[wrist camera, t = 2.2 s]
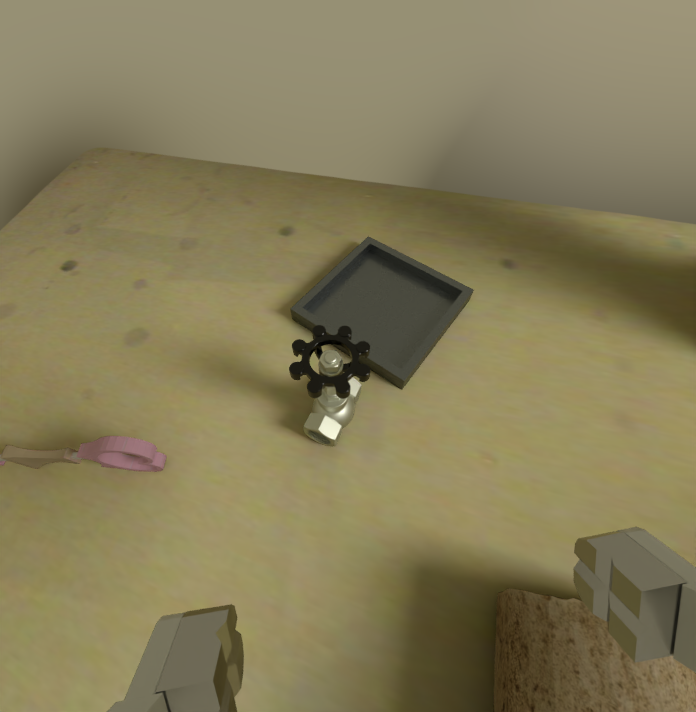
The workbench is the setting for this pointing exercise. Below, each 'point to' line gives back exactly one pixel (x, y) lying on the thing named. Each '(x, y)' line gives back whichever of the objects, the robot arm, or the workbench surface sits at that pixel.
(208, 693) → the robot arm
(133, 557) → the workbench surface
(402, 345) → the dark gray tray
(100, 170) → the workbench surface
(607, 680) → the core sample
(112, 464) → the decorative key
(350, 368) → the valve
